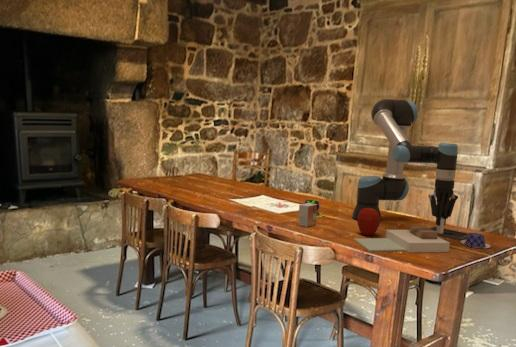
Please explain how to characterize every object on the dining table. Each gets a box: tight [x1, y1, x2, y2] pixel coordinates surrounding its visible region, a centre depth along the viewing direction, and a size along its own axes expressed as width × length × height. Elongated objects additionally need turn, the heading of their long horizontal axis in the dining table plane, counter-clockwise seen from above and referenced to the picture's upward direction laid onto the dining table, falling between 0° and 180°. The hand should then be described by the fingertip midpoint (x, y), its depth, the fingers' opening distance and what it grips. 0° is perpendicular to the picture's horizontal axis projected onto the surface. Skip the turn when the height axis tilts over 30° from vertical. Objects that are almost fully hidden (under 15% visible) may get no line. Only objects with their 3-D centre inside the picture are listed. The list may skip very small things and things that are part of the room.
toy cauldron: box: [301, 194, 323, 219], centre depth 223 cm, size 15×15×11 cm
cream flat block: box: [385, 229, 451, 253], centre depth 173 cm, size 20×18×4 cm
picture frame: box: [429, 225, 470, 241], centre depth 193 cm, size 13×2×18 cm
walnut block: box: [409, 225, 438, 239], centre depth 173 cm, size 10×7×3 cm
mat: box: [353, 237, 407, 252], centre depth 170 cm, size 16×16×1 cm
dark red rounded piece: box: [357, 206, 381, 236], centre depth 186 cm, size 10×10×14 cm
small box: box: [297, 203, 318, 228], centre depth 200 cm, size 8×6×10 cm
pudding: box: [459, 232, 492, 249], centre depth 177 cm, size 12×12×5 cm
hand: (439, 232), depth 174 cm, fingers closed
